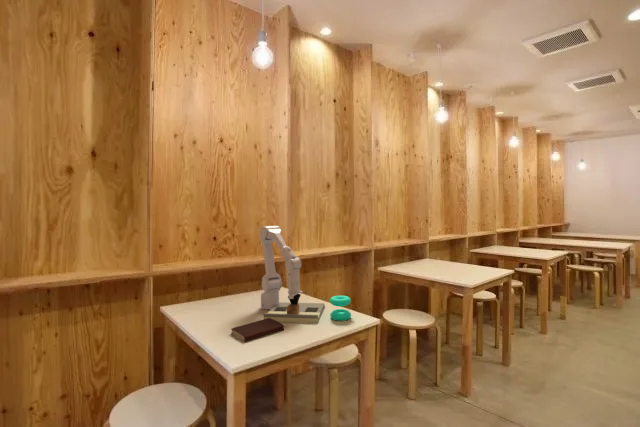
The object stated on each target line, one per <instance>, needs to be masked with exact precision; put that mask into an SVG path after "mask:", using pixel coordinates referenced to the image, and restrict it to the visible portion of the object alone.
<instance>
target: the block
mask: <svg viewBox="0 0 640 427" xmlns="http://www.w3.org/2000/svg"><path fill="white" fill-rule="evenodd" d="M287 314H299V305H297V304H289V305H288V306H287Z"/></svg>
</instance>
